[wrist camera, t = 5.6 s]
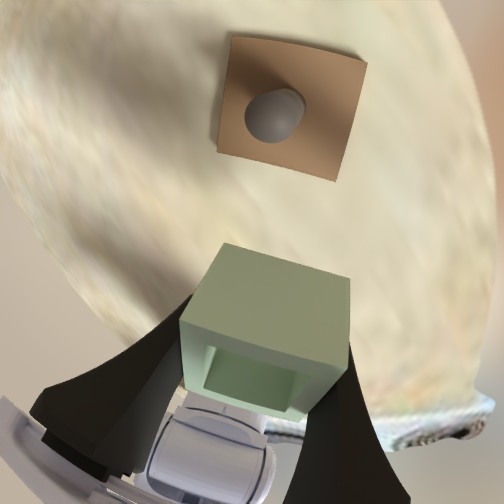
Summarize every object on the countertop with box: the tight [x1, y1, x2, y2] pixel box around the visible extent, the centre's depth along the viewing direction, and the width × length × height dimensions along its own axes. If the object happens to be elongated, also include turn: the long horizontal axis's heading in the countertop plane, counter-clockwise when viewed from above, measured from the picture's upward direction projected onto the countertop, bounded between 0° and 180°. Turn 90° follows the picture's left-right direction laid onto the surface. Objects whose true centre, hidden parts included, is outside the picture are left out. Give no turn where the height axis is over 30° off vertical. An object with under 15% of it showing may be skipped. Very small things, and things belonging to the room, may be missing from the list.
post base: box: [217, 36, 368, 182], centre depth 12 cm, size 7×7×5 cm
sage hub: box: [179, 243, 350, 422], centre depth 11 cm, size 5×5×4 cm
